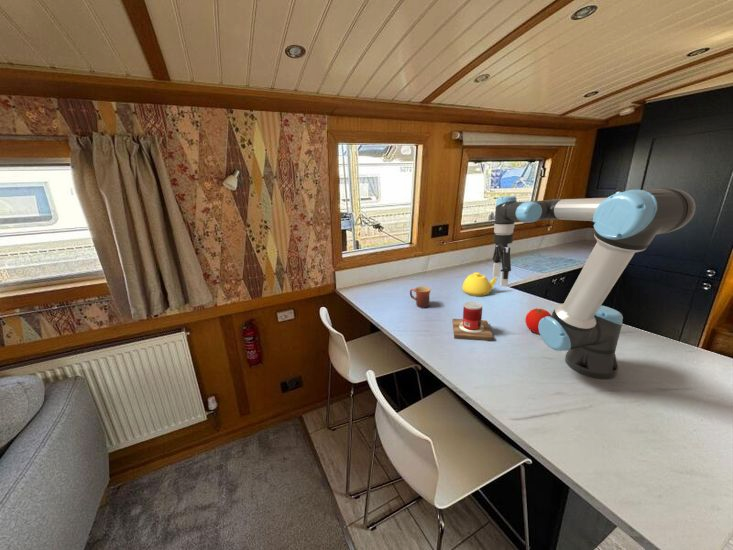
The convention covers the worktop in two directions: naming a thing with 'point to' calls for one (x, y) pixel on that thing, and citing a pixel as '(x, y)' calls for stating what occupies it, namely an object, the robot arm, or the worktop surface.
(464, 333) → the board
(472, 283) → the teapot
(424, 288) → the mug
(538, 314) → the tomato
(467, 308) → the canned food
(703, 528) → the worktop surface
